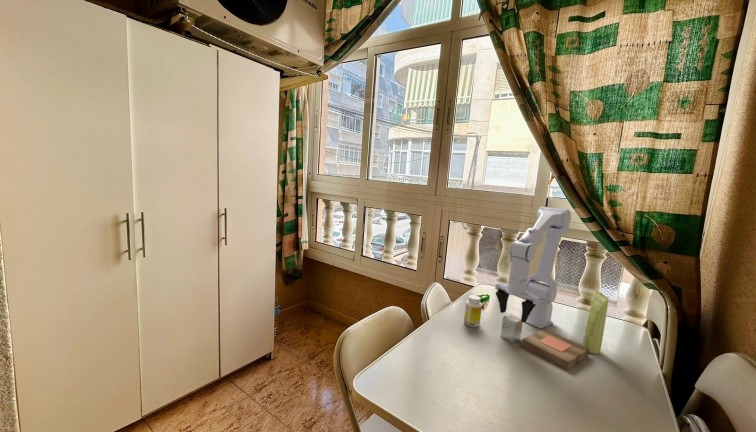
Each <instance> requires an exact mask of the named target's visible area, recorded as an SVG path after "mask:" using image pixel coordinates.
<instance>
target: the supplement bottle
mask: <svg viewBox="0 0 756 432" xmlns="http://www.w3.org/2000/svg"><path fill="white" fill-rule="evenodd" d="M482 308H483V304H482V302H481V297H480V296H478V295H473V294H471V295H469V296H468V300H467V301H465V307H464V309H465V310H464V318H463V319H464V320H463V323H464V324H465V325H466V326H468V327H472V328H477V327H479V326H480V325H481V317H482Z"/></svg>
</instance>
